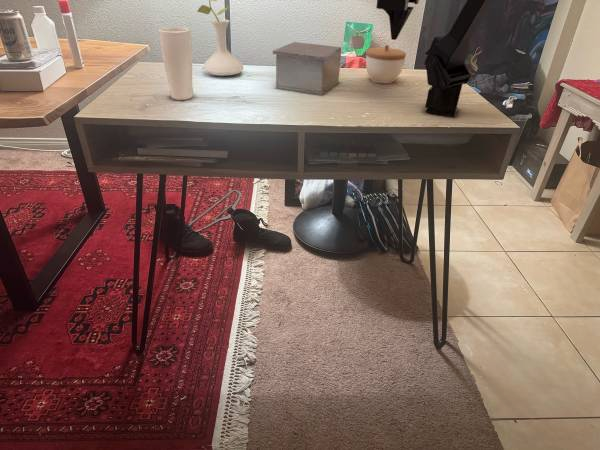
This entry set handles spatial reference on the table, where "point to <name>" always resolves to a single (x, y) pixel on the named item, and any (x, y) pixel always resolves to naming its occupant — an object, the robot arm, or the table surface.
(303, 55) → the lid
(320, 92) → the tin
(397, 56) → the trinket box
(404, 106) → the table surface
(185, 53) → the drinking glass
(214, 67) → the flower in vase
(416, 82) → the table surface
